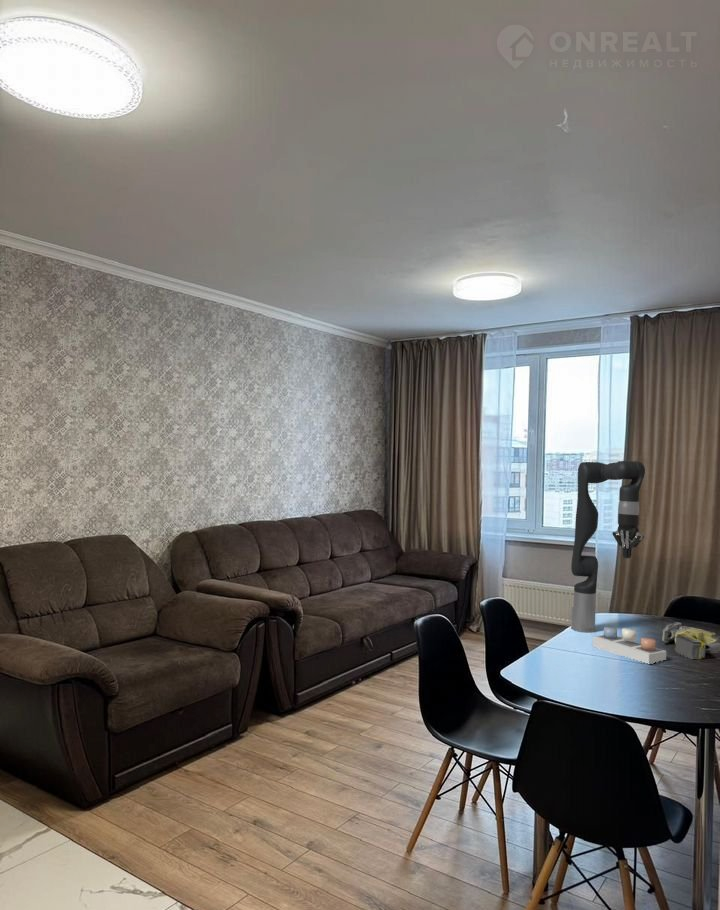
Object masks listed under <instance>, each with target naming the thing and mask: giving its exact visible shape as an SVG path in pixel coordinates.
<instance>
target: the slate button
mask: <svg viewBox="0 0 720 910" xmlns="http://www.w3.org/2000/svg"><path fill="white" fill-rule="evenodd" d="M603 635H604V637H605V638H608V639H617V636H618V628H617V627H613V626H604V627H603Z"/></svg>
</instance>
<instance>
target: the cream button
mask: <svg viewBox="0 0 720 910" xmlns="http://www.w3.org/2000/svg"><path fill="white" fill-rule="evenodd" d="M621 637H622V639H624V640H628V641H635V642H636V641H637V630H636V629H634V628H629V627H623V628H621Z"/></svg>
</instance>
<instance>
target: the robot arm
mask: <svg viewBox="0 0 720 910" xmlns="http://www.w3.org/2000/svg"><path fill="white" fill-rule="evenodd" d="M645 474H646V467H645V465H644V463H642V462H641V461H638V460H619V461H617V462H609V463H603V462H599V461H595V462H594V461H582V462H580V463H579V464H578V468H577V500H576V510H575V511H576V512H575V525H574V540H573V541H574V542H573V550H572V557H571V563H570V564H571V566H570V567H571V568H570V569H571V573H572V575H573V576H575V577H583V578H585V577H587V578H586V579H585V580H584V581H581V582H577V583H575V584H574V586H573V587H574V589H573V606H571V614H570V615H571V616H570V617H571V619H570V629H571V630H573V631H574V632H577V633H584V634H590V633H591V634H592V633H595V632H596V630H595V629H596V609H597V608H596V607H597V606H596V605H597V604H596V603H597V586H598V585H597V584H598V582H597V581H598V571H599V561H598V558H597V556H595V555H582V554H583V551H584V548H585V546H586V545H587V543H588V542H589V540H590V539H591V538H592V537H593V536H594V534H595V533H596V532H597V529H598V524H599V523H598V522H599V512H598V509H597V507H596V505H595V504H594V502H593V500H592V498H591V496H590V494H589V493H590V492H589V484H601V483H605V482H606V481H608V480H609V481H610V480H611V481H619V480H631V481H630V482H629V484H626V485H621V486H620V487H619V497H618V500H619V501H618V505H617V507H618V508H617V525H618V526H617V530H616V531H613V532H611V533H612V536H613V538H614V539H615V541H616V542H617V543H616V544H617V545H618V546H620V547H621V548H622V556H623V558H624V559H631V557H632V551H633V550H632V549H633V548H637V547H638V545H640V544H641V542H642V541H643V540H644V538H645V537H644V535H642V534H641V533H639V531H640V530H639V525H640V491H641V485H642V483H643V480H644V476H645Z"/></svg>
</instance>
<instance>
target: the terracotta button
mask: <svg viewBox="0 0 720 910" xmlns="http://www.w3.org/2000/svg"><path fill="white" fill-rule="evenodd" d="M640 639H641V640H640V643H641V649H643V650H647V651H655V650H656V648H657V647H656V646H657V639H655V638H651V637H650V638H649V637H641V638H640Z"/></svg>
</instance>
